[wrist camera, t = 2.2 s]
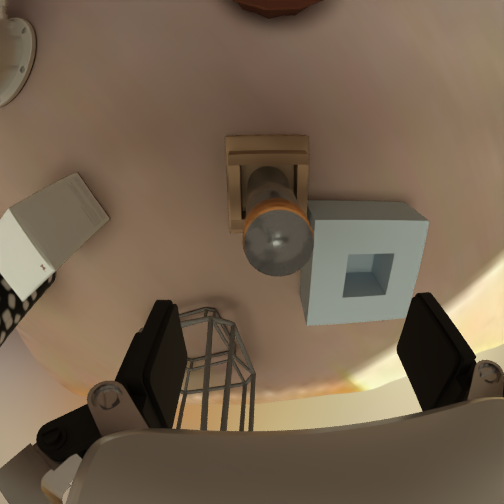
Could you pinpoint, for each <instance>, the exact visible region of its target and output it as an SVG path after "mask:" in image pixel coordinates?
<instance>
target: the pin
mask: <svg viewBox="0 0 504 504" xmlns="http://www.w3.org/2000/svg"><path fill="white" fill-rule="evenodd" d="M313 248H314V234H313V230H312V228H311V226H310V223H309V221H308V219H307V217H306V215H305V213H304V212H303V210H302V209H301V208H300V206H299V204H298V202H297V199H296V197H295V195H294V193H293V191H292V189H291V187H290V185H289V183H288V181H287V179H286V177H285V175H284V174H283V172H282V171H280V170H279V169H277V168H275V167H271V166H264V167H260V168H258V169H256V170H255V171H254V172H253V173H252V174H251V175H250V177H249V179H248V184H247V202H246V219H245V222H244V228H243V249H244V252H245V255H246V257H247V259H248V261H249V262H250V264H251V265H252V266H253V267H254V268H255V269H257V270H258V271H260V272H262V273H264V274H266V275H270V276H285V275H289V274H292V273H294V272H296V271H298V270H300V269H301V268H302V267H303V266H304V265H305V264H306V263H307V262H308V261H309V259H310V257H311V255H312V252H313Z"/></svg>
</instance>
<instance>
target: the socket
mask: <svg viewBox="0 0 504 504" xmlns="http://www.w3.org/2000/svg"><path fill="white" fill-rule="evenodd" d="M307 219H308V221H309V223H310V226H311V228H312V230H313V234H314V248H313V252H312V255H311V257H310V259H309V261H308V262H307V263H306V264H305V265H304V266H303V267H302V268H301V284H300V298H301V302H302V307H303V311H304V316H305V320H306V325H307V326H310V325H328V324H343V323H356V322H368V321H380V320H390V319H400V318H406V315H407V311H408V308H409V305H410V301H411V298H412V294H413V291H414V287H415V283H416V279H417V275H418V271H419V267H420V263H421V259H422V255H423V250H424V245H425V241H426V236H427V231H428V225H429V220H427V219H426V218H425V217H424V216H422V215H421V214H420V213H418V212H417V211H416V210H414V209H413V208H412V207H410V206H409V205H408V204H406V203H405V202H387V201H345V200H308V202H307Z"/></svg>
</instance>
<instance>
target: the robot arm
mask: <svg viewBox="0 0 504 504" xmlns="http://www.w3.org/2000/svg"><path fill="white" fill-rule="evenodd" d="M8 1H9V0H0V107H1V106H4V105H6V104H7V103H9V102H10V101H11V100H12V99H13V98H14V97H15V96H16V95H17V94H18V93H19V91H20V90H21V89H22V87H23V85H24V84H25V82H26V80H27V78H28V75H29V73H30V70H31V68H32V65H33V61H34V56H35V49H36V38H35V33H34V30H33V28H32V25H31V24H30V23H29V22H28V21H26V20H24V19H21V18H9V19H8V15H7V14H6V9H7V7H8ZM397 354H398V356H399V358H400V360H401V362H402V365H403V367H404V369H405V371H406V374H407V376H408V378H409V380H410V382H411V385H412V387H413V389H414V392H415V394H416V396H417V399H418V401H419V404H420V406H421V408H422V411H423V412H419V413H415V414H410V415H405V416H400V417H395V418H390V419H384V420H379V421H372V422H366V423H360V424H352V425H345V426H335V427H326V428H315V429H303V430H287V431H286V430H285V431H206V430H187V429H172V427H173V423H174V418H175V413H176V409H177V404H178V400H179V395H180V391H181V387H182V382H183V378H184V374H185V369H186V365H187V351H186V347H185V342H184V337H183V332H182V328H181V323H180V318H179V312H178V307H177V305H176V304H173V303H172V301H171V300H156V302H155V304H154V306H153V308H152V310H151V313H150V315H149V317H148V319H147V322H146V324H145V326H144V328H143V331H142V332H137V333H136V334H135V336H134V338H133V340H132V342H131V344H130V347H129V349H128V351H127V353H126V356H125V358H124V360H123V362H122V365H121V367H120V369H119V372H118V374H117V376H116V379H115V381H103V382H100V383H98V384H96V385H95V386H94V387H93V388H91V389H90V391H89V393H88V396H87V403H88V404H86V405H84V406H82V407H80V408H78V409H76V410H74V411H72V412H69V413H67V414H65V415H64V416H61V417H59V418H57V419H55V420H52V421H50V422H48V423H46V424H45V425H43V426H42V427H41V428H40V430H39V432H38V434H37V439H36V441H37V442H36V443H35V444H34V445H31V443H30V444H29V445H28V446H26V447H25V448H24V449H23V450H22V451H20V452H19V453H18V454H17V455H16V456H15V457H13V458H12V459H11V460H10V461H9V462H7V463H6V464H5V465H4V466H3V467H2V468H1V469H0V491H1V492H2V494H3V496H4V497H5V499H6V500H7V501H8V503H9V504H63V503H62V497H63V494H64V493H65V491H66V490H67V489H68V488H69V487H70V486H71V488H70V492H69V495H68V498H67V501H66V504H504V373H503V370H502V369H501V367H500V366H499V365H498V364H496V363H495V362H493V361H489V360H482V361H479V362H478V363H476V361H475V358H476V356H475V354H474V352H473V351H472V349H471V348H470V346H469V345H468V344H467V342H466V341H465V339H464V338H463V336H462V335H461V333H460V332H459V331H458V329H457V328H456V326H455V325H454V323H453V322H452V321H451V319H450V318H449V317H448V315H447V314H446V312H445V311H444V310H443V308H442V307H441V306H440V304H439V303H438V302H437V300H436V299H435V298H434V297H433V295H432V294H431V293H429V292H426V293H417V294H416V295H415V297H413V298H412V300H411V304H410V307H409V311H408V314H407V317H406V320H405V324H404V327H403V330H402V333H401V336H400V339H399V342H398V345H397ZM72 480H73V482H72V485H70V484H69V483H71V481H72Z"/></svg>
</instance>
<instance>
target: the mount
mask: <svg viewBox="0 0 504 504" xmlns="http://www.w3.org/2000/svg"><path fill="white" fill-rule="evenodd" d="M308 138H309V136H307V135H235V136H226V137H225V150H226V172H227V192H228V211H229V229H230V233H243V228H244V222H245V219H246V202H247V184H248V179H249V177H250V175H251V174H252V173H253V172H254V171H255V170H256V169H258V168H260V167H264V166H271V167H275V168H277V169H279V170H280V171H282V172H283V174H284V175H285V177H286V179H287V181H288V183H289V185H290V187H291V189H292V191H293V193H294V195H295V197H296V199H297V202H298V204H299V206H300V208H301V209H302V210H303V212H304V213H305V215H306V217H307V202H308V168H309V154H308Z"/></svg>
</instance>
